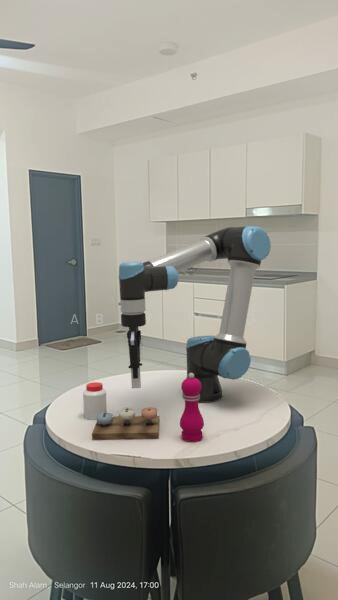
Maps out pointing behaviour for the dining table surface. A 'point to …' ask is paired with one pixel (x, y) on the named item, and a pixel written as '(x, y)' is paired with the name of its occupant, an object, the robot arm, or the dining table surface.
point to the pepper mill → (191, 410)
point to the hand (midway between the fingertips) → (136, 387)
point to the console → (127, 429)
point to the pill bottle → (94, 400)
